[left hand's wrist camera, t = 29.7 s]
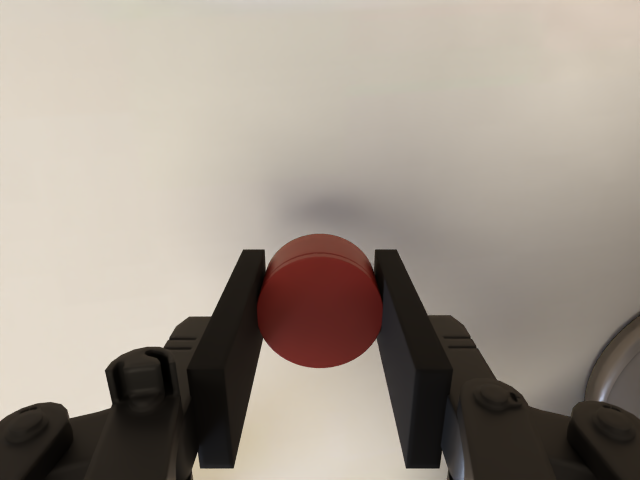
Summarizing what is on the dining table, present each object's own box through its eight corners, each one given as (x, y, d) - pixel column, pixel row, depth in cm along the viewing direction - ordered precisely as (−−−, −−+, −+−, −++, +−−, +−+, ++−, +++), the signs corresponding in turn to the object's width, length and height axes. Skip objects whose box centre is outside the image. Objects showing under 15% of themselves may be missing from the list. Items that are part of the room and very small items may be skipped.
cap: (257, 323, 15) (248, 358, 13) (273, 223, 14) (265, 246, 12) (361, 339, 15) (367, 377, 13) (386, 244, 14) (398, 269, 12)
